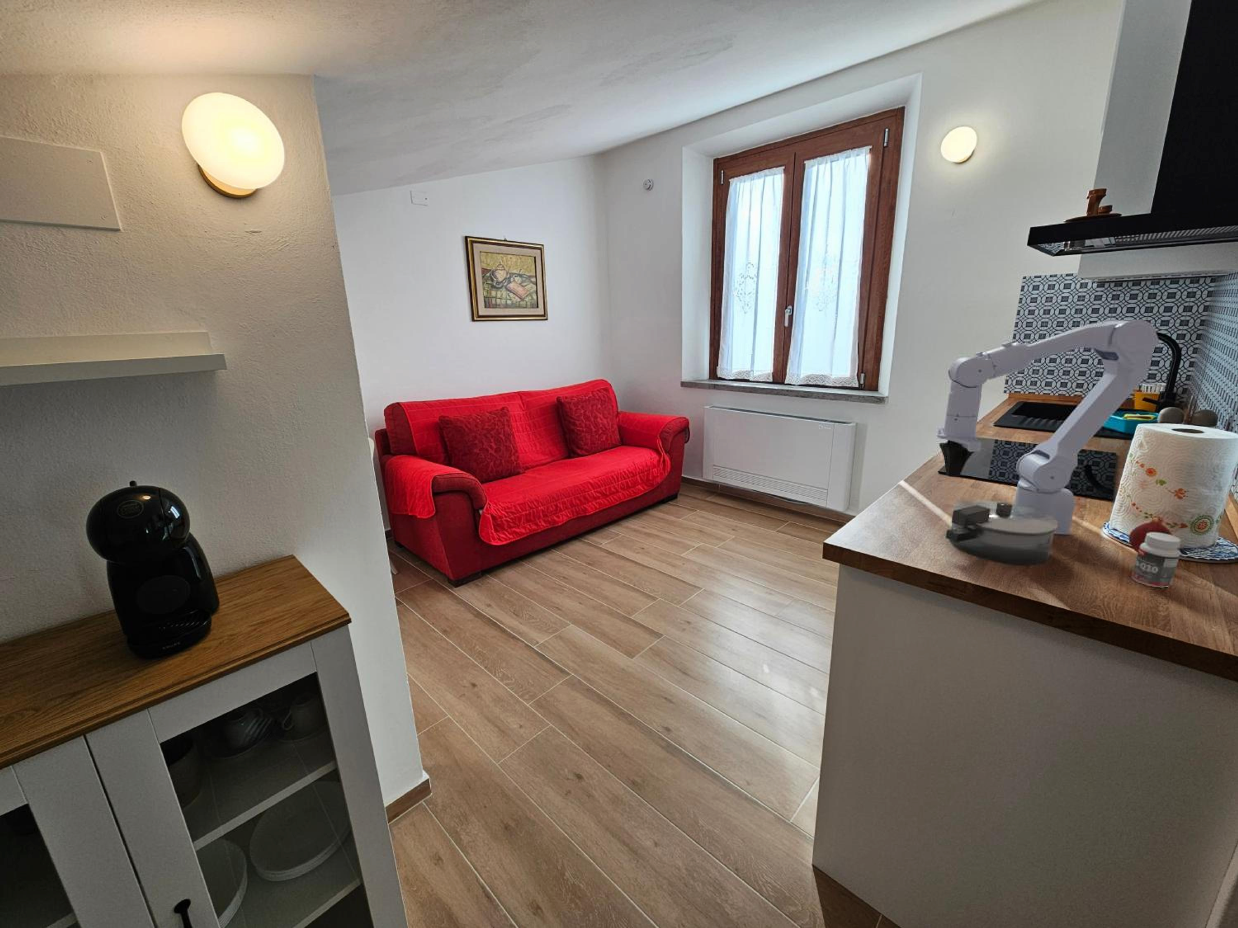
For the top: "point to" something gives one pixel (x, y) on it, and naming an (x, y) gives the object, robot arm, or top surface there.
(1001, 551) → the cooker pot
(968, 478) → the top surface
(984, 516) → the cooker lid
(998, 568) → the top surface
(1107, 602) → the top surface
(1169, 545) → the pill bottle
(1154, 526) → the onion
